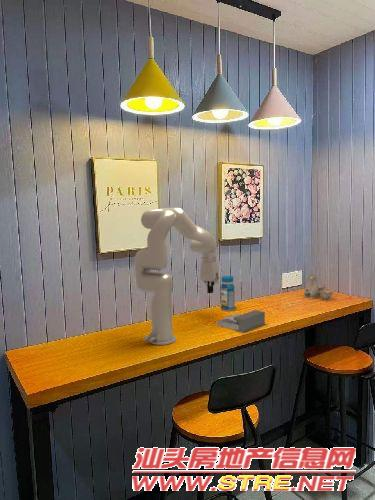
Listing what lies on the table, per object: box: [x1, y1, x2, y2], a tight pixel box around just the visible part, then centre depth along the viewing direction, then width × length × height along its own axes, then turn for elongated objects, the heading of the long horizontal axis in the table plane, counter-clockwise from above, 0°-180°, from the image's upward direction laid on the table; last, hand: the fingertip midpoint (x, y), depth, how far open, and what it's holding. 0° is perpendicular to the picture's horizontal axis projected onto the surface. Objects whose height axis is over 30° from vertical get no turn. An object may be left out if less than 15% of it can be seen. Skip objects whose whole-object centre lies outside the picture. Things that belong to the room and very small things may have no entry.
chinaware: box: [303, 272, 334, 301], centre depth 247 cm, size 28×17×17 cm, turn 1°
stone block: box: [220, 314, 240, 325], centre depth 195 cm, size 12×5×10 cm
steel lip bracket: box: [216, 309, 266, 333], centre depth 191 cm, size 18×18×6 cm
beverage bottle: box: [220, 275, 236, 312], centre depth 222 cm, size 8×8×20 cm
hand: (210, 292), depth 205 cm, fingers closed
